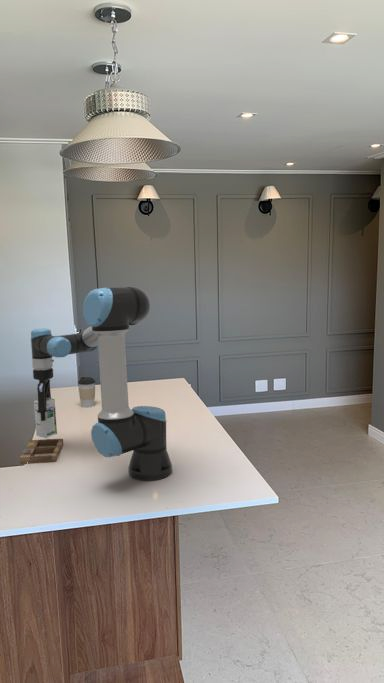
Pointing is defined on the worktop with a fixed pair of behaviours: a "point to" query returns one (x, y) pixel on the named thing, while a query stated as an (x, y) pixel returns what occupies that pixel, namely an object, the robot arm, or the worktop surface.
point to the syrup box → (50, 417)
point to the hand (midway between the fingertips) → (46, 424)
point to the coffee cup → (87, 391)
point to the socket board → (41, 451)
